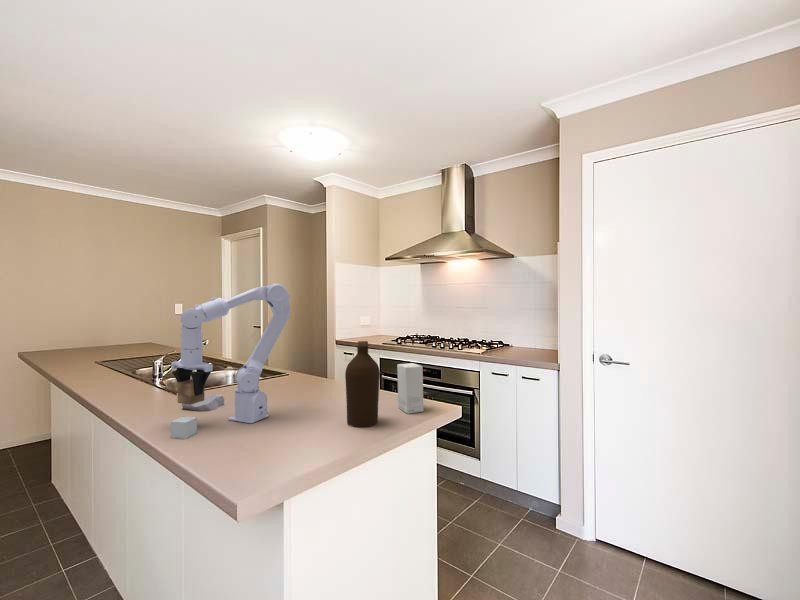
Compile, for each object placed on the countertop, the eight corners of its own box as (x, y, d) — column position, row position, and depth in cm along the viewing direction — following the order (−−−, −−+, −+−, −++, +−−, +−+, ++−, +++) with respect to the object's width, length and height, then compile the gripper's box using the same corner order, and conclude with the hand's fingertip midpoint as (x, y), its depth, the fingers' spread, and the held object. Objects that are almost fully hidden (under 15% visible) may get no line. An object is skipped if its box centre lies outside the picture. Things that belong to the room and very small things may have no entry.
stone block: (211, 417, 130) (226, 403, 139) (209, 403, 129) (225, 390, 138) (178, 417, 131) (195, 403, 141) (175, 404, 130) (193, 391, 140)
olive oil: (353, 430, 111) (353, 344, 111) (340, 420, 121) (340, 340, 121) (385, 424, 117) (386, 342, 117) (370, 415, 126) (371, 339, 126)
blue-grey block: (196, 433, 109) (196, 417, 109) (185, 439, 104) (185, 422, 104) (183, 432, 110) (183, 416, 110) (170, 437, 105) (170, 421, 105)
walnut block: (204, 400, 116) (204, 380, 116) (190, 404, 112) (190, 384, 112) (192, 398, 118) (192, 379, 118) (177, 402, 114) (177, 382, 114)
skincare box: (423, 412, 130) (424, 366, 129) (405, 414, 127) (405, 367, 127) (413, 405, 137) (414, 362, 137) (396, 407, 135) (396, 363, 135)
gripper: (161, 348, 114) (161, 394, 114) (198, 351, 109) (198, 399, 109) (182, 346, 121) (182, 389, 121) (218, 348, 115) (218, 393, 115)
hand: (191, 394), depth 115 cm, fingers closed on walnut block, 5 cm apart
